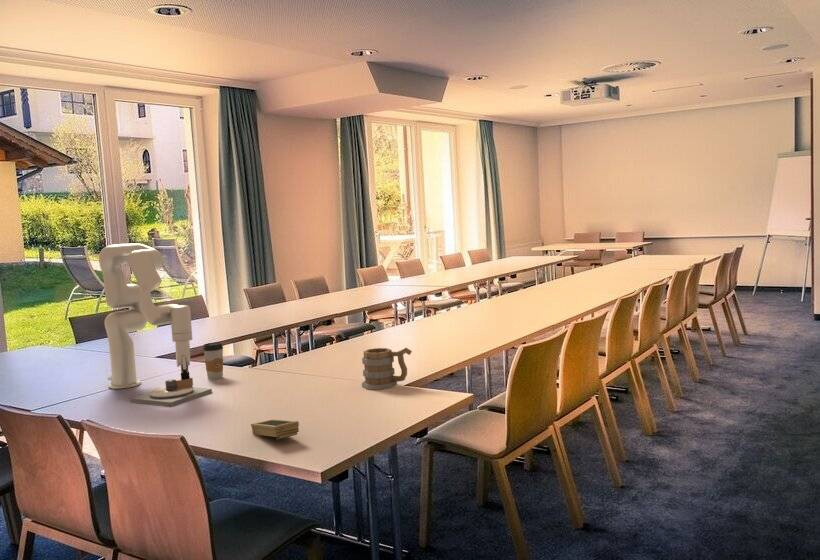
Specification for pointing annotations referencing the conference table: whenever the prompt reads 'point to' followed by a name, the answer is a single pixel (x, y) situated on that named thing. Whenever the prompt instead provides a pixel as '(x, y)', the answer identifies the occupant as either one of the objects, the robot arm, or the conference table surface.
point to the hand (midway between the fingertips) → (185, 382)
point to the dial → (173, 388)
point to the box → (276, 428)
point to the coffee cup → (214, 360)
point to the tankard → (382, 368)
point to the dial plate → (171, 398)
